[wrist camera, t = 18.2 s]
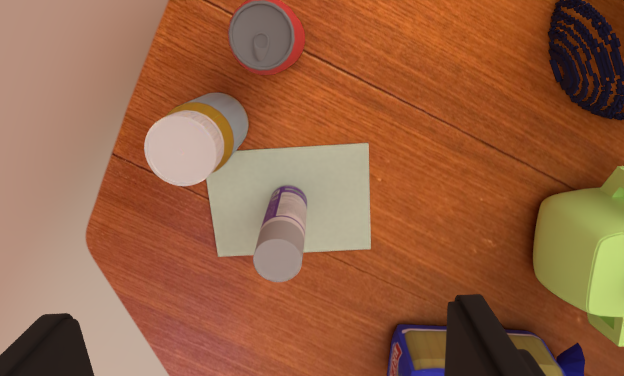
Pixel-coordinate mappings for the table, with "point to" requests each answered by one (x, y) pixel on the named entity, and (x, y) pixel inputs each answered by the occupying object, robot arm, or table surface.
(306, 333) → the table surface
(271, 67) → the beer can
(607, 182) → the teapot
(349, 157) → the mat
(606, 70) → the decorative bowl
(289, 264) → the container
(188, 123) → the bottle
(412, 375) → the bread
